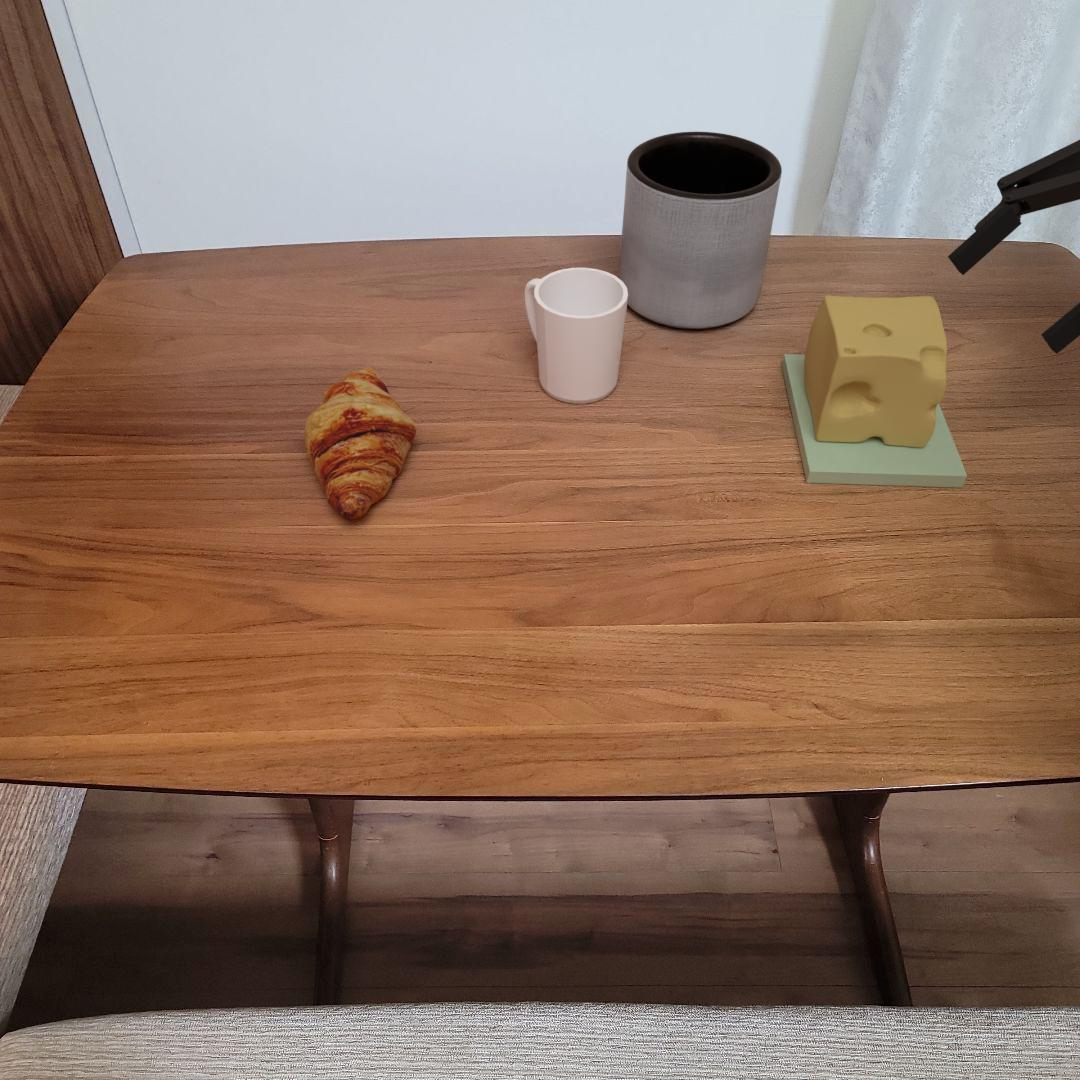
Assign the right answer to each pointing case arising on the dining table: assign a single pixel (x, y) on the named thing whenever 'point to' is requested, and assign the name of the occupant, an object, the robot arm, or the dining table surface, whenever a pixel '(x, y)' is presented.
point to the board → (869, 449)
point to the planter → (697, 227)
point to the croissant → (357, 442)
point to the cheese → (876, 369)
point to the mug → (577, 332)
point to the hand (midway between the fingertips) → (999, 303)
